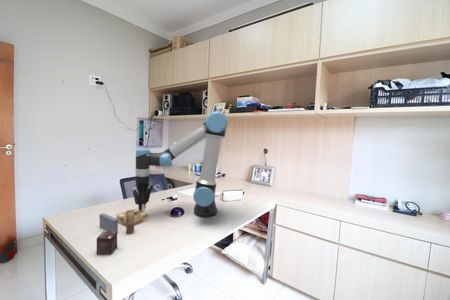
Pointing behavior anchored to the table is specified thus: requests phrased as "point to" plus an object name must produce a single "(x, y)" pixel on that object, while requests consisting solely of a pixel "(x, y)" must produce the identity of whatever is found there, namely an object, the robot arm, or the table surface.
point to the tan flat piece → (138, 217)
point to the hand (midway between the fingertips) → (141, 214)
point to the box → (106, 243)
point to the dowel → (130, 222)
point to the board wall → (108, 223)
